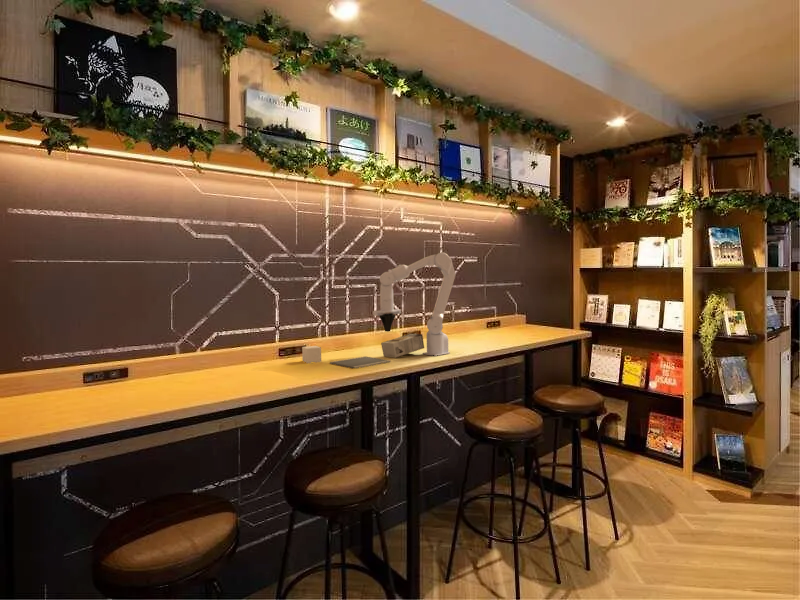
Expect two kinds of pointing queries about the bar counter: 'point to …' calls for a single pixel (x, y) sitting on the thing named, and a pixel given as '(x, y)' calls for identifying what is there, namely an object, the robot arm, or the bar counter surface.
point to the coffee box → (402, 345)
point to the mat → (359, 362)
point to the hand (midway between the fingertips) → (387, 331)
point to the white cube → (311, 354)
